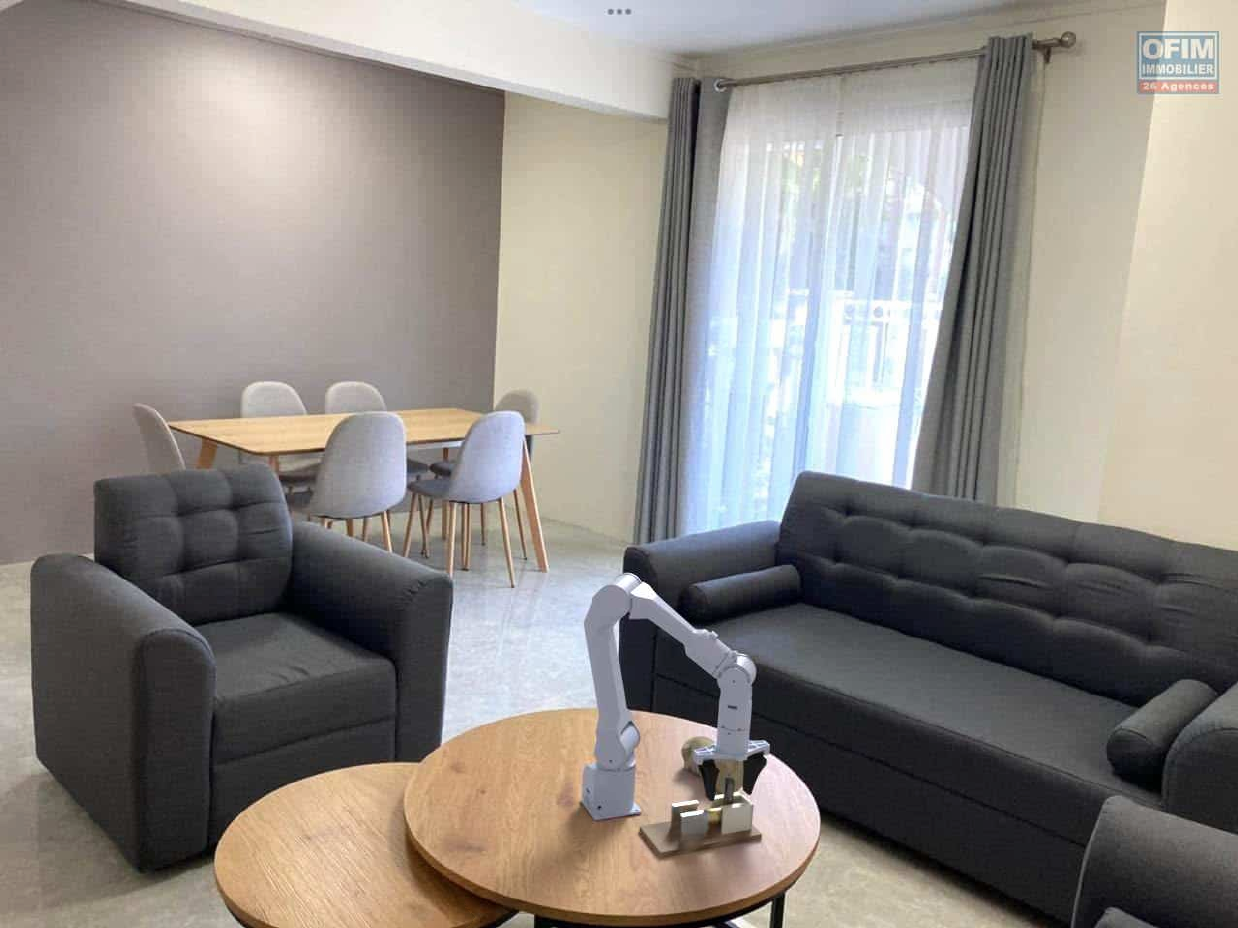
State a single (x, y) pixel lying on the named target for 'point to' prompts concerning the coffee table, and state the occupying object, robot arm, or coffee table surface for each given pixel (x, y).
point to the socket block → (735, 813)
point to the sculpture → (725, 766)
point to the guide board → (691, 832)
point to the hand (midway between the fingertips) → (728, 795)
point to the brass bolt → (716, 812)
